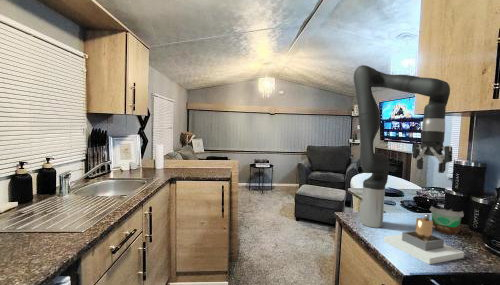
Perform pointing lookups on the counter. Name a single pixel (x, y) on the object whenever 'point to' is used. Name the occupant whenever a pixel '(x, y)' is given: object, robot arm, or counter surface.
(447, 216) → the food container
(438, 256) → the white board with frame
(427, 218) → the spout can
